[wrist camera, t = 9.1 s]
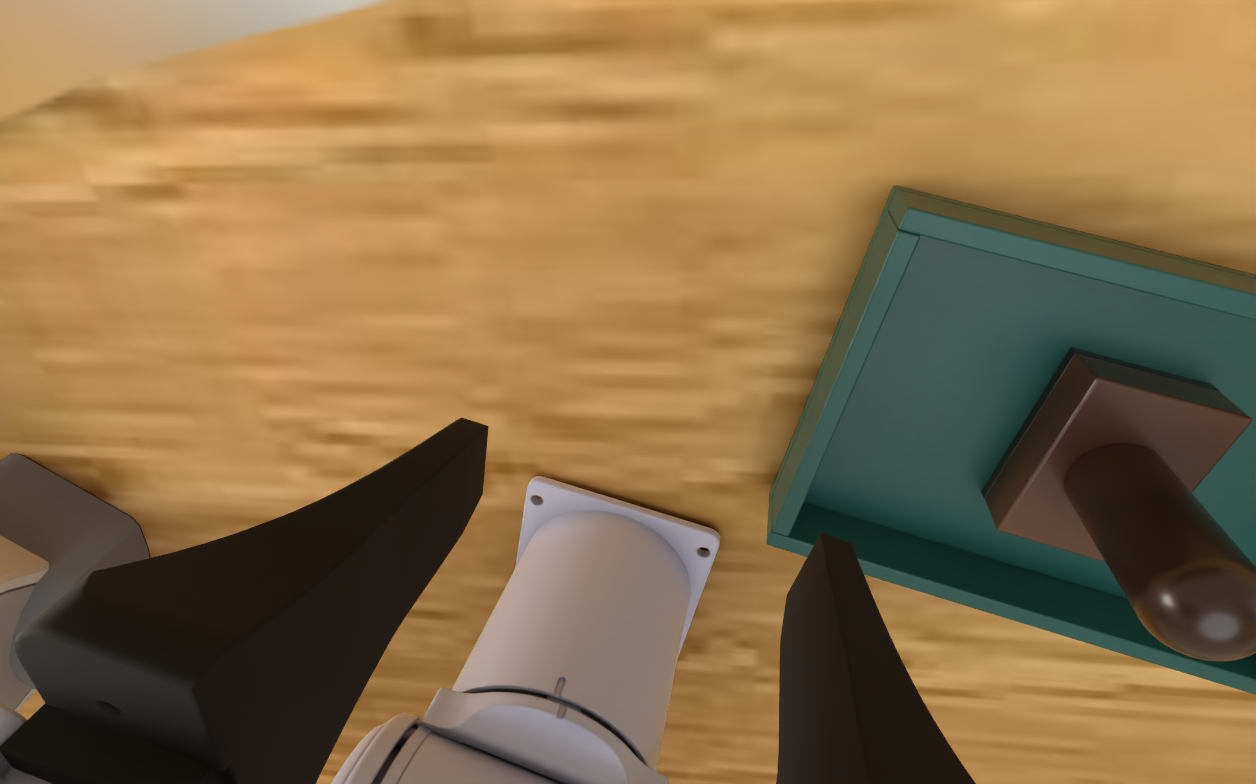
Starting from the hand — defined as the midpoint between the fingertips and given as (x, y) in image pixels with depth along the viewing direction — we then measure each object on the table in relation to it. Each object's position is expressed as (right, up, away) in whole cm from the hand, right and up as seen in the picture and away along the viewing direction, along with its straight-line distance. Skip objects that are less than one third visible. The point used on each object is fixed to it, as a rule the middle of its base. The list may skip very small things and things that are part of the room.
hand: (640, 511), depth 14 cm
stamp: (+14, +1, +7) cm, 16 cm away
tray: (+14, +1, +7) cm, 16 cm away
